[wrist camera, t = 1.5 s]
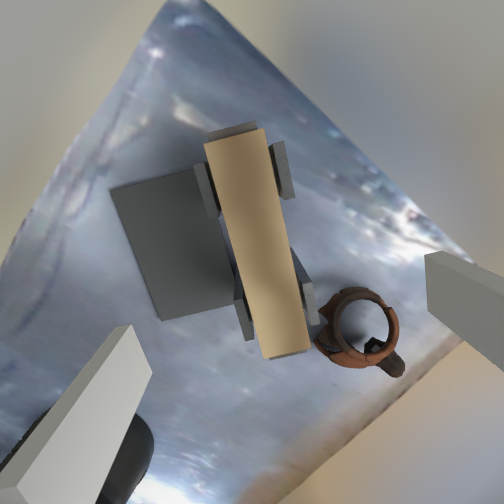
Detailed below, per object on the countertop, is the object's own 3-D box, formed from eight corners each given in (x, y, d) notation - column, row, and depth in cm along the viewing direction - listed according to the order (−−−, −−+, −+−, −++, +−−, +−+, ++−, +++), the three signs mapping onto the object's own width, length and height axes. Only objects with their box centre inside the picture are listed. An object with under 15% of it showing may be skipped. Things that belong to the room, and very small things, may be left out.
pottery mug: (290, 334, 36) (308, 338, 28) (327, 276, 39) (354, 265, 31) (367, 391, 36) (408, 412, 28) (401, 328, 38) (448, 331, 30)
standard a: (244, 291, 34) (245, 341, 24) (236, 261, 33) (233, 300, 23) (298, 278, 34) (320, 323, 24) (291, 247, 32) (311, 282, 23)
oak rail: (261, 333, 28) (265, 364, 23) (208, 140, 22) (200, 134, 18) (301, 324, 27) (312, 353, 23) (258, 127, 22) (261, 117, 18)
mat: (162, 318, 35) (161, 321, 34) (112, 190, 30) (109, 190, 29) (241, 300, 34) (241, 302, 34) (202, 166, 29) (201, 166, 29)
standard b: (219, 202, 31) (208, 219, 21) (209, 164, 29) (192, 164, 20) (278, 187, 30) (294, 197, 21) (270, 148, 29) (283, 140, 20)
